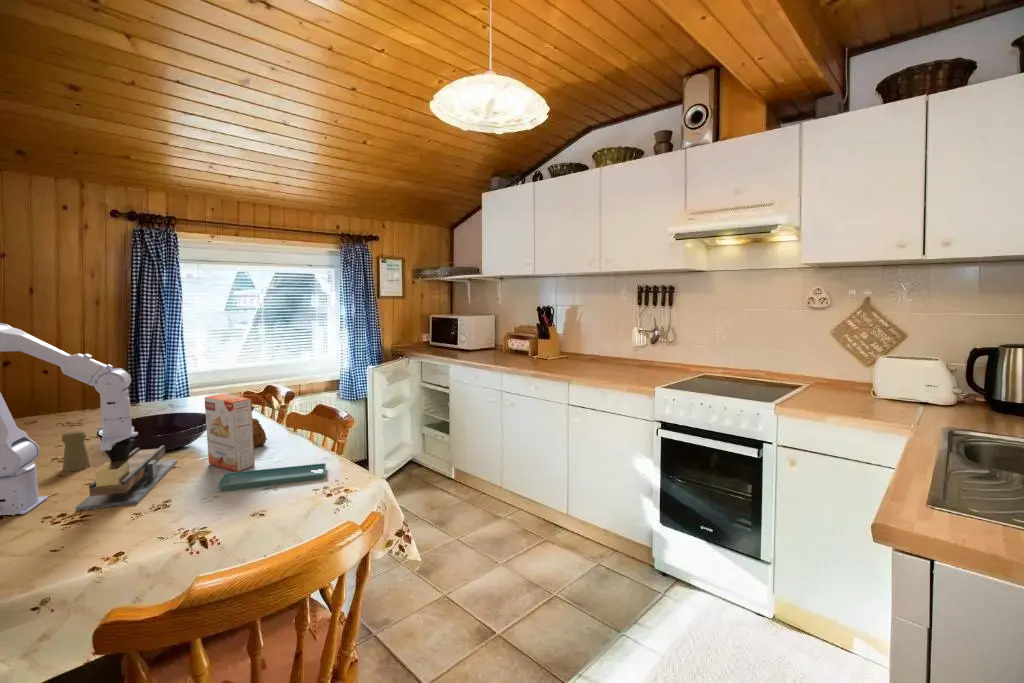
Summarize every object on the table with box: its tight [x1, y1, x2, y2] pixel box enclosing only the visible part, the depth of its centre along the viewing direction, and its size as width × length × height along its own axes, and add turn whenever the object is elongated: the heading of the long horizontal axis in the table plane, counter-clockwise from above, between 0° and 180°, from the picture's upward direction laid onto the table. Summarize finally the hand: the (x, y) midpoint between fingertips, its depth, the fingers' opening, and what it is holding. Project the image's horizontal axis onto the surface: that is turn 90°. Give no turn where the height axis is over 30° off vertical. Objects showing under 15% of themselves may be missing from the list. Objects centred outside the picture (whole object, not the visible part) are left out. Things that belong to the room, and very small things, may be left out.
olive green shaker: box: [61, 430, 91, 473], centre depth 139 cm, size 6×6×11 cm
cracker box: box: [204, 393, 255, 472], centre depth 141 cm, size 14×6×21 cm, turn 62°
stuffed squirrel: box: [251, 405, 268, 448], centre depth 161 cm, size 10×14×13 cm
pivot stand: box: [75, 459, 178, 512], centre depth 128 cm, size 30×12×6 cm, turn 20°
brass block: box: [94, 460, 129, 487], centre depth 117 cm, size 6×4×4 cm
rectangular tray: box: [217, 462, 327, 492], centre depth 132 cm, size 26×9×2 cm, turn 112°
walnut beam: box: [88, 445, 166, 497], centre depth 128 cm, size 28×7×3 cm, turn 20°
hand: (120, 469), depth 121 cm, fingers closed
